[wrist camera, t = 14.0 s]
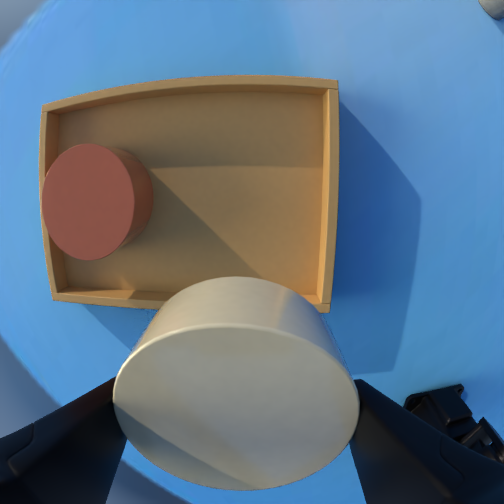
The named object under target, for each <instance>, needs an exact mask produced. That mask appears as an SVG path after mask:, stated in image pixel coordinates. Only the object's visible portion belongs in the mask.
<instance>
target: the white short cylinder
mask: <svg viewBox="0 0 504 504" xmlns="http://www.w3.org/2000/svg"><path fill="white" fill-rule="evenodd" d="M113 405H114V411H115V415H116V417H117V420H118V423H119V425H120V427H121V429H122V431H123V433H124V434H125V436H126V437H127V439H128V440H129V441H130V443H131V444H132V445H133V446H134V447H135V448H136V449H137V450H138V451H139V452H140V453H141V454H142V455H143V456H144V457H145V458H146V459H148V460H149V461H150V462H152V463H153V464H154V465H156V466H158V467H159V468H161V469H162V470H164V471H166V472H168V473H170V474H172V475H174V476H176V477H178V478H181V479H183V480H186V481H188V482H191V483H195V484H198V485H202V486H206V487H210V488H216V489H223V490H235V491H252V490H263V489H269V488H275V487H280V486H283V485H287V484H291V483H293V482H296V481H299V480H302V479H304V478H306V477H308V476H310V475H312V474H314V473H316V472H317V471H319V470H321V469H322V468H324V467H325V466H327V465H328V464H329V463H331V462H332V461H333V460H334V459H335V458H336V457H337V456H338V455H339V454H341V452H342V451H343V450H344V449H345V448H346V446H347V445H348V444H349V442H350V440H351V439H352V437H353V435H354V433H355V430H356V427H357V423H358V420H359V415H360V399H359V394H358V390H357V388H356V385H355V383H354V380H353V378H352V376H351V374H350V371H349V369H348V367H347V365H346V362H345V360H344V358H343V356H342V354H341V351H340V349H339V347H338V345H337V343H336V340H335V338H334V336H333V334H332V332H331V330H330V327H329V325H328V324H327V322H326V321H325V319H324V317H323V316H322V315H321V313H320V312H319V311H318V310H317V309H316V308H315V307H314V306H313V305H312V304H311V303H310V302H309V301H307V300H306V299H305V298H304V297H302V296H301V295H299V294H298V293H296V292H294V291H293V290H291V289H289V288H286V287H284V286H282V285H280V284H277V283H274V282H270V281H267V280H263V279H257V278H252V277H237V276H236V277H221V278H216V279H210V280H206V281H203V282H200V283H197V284H194V285H192V286H190V287H188V288H185V289H183V290H181V291H180V292H178V293H177V294H176V295H174V296H173V297H171V298H170V299H169V300H168V301H167V302H166V303H165V304H163V305H162V307H161V308H160V309H159V310H158V312H157V313H156V314H155V316H154V317H153V319H152V320H151V322H150V323H149V325H148V326H147V328H146V329H145V331H144V332H143V334H142V335H141V337H140V338H139V340H138V341H137V343H136V344H135V346H134V347H133V349H132V350H131V352H130V353H129V355H128V357H127V358H126V360H125V361H124V363H123V364H122V366H121V368H120V370H119V372H118V374H117V376H116V380H115V383H114V388H113Z"/></svg>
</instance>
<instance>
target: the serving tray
mask: <svg viewBox="0 0 504 504" xmlns="http://www.w3.org/2000/svg"><path fill="white" fill-rule="evenodd" d="M41 113H42V114H41V123H40V140H39V193H40V211H41V224H42V234H43V243H44V251H45V258H46V265H47V272H48V278H49V283H50V289H51V292H52V293H51V294H52V299H53V300H54V301H63V302H72V303H82V304H92V305H103V306H114V307H127V308H140V309H156V310H159V309H160V308H161V307H162V305H163V304H165V303H166V302H167V301H168V300H169V299H170V298H171V297H173V296H174V295H176V294H177V293H178V292H180V291H181V290H183V289H185V288H188V287H190V286H192V285H194V284H197V283H200V282H203V281H206V280H210V279H216V278H221V277H236V276H237V277H252V278H257V279H263V280H267V281H270V282H274V283H277V284H280V285H282V286H284V287H286V288H289V289H291V290H293V291H294V292H296V293H298V294H299V295H301V296H302V297H304V298H305V299H306V300H307V301H309V302H310V303H311V304H312V305H313V306H314V307H315V308H316V309H317V310H318V311H319V312H320V313H329V312H330V305H331V304H330V303H331V296H332V286H333V275H334V263H335V250H336V235H337V218H338V195H339V91H338V80H331V79H321V78H310V77H296V76H275V75H224V76H203V77H189V78H178V79H168V80H159V81H151V82H144V83H137V84H131V85H125V86H119V87H114V88H109V89H104V90H99V91H94V92H90V93H85V94H81V95H77V96H73V97H69V98H65V99H61V100H58V101H54V102H51V103H47V104H44V105H42V111H41ZM81 144H98V145H104V146H110V147H116V148H121V149H124V150H126V151H128V152H130V153H132V154H133V155H135V156H136V157H137V158H138V159H139V160H140V161H141V162H142V164H143V165H144V166H145V168H146V170H147V172H148V174H149V176H150V179H151V182H152V187H153V195H154V198H153V208H152V213H151V216H150V219H149V221H148V224H147V225H146V227H145V229H144V230H143V232H142V233H141V234H140V235H139V236H138V237H137V238H136V239H135V240H134V241H132V242H131V243H129V244H127V245H126V246H124V247H122V248H120V249H119V250H117V251H115V252H113V253H112V254H110V255H108V256H107V257H104V258H102V259H98V260H92V261H87V260H80V259H77V258H74V257H72V256H70V255H68V254H67V253H65V252H64V251H63V250H61V249H60V248H59V247H58V246H57V245H56V243H55V242H54V241H53V239H52V238H51V236H50V235H49V233H48V231H47V228H46V226H45V223H44V219H43V215H42V207H41V197H42V189H43V184H44V181H45V178H46V175H47V173H48V171H49V169H50V167H51V166H52V164H53V163H54V162H55V160H56V159H57V158H58V157H59V156H60V155H61V154H62V153H64V152H65V151H66V150H68V149H70V148H72V147H74V146H77V145H81Z"/></svg>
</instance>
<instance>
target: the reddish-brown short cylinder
mask: <svg viewBox="0 0 504 504" xmlns="http://www.w3.org/2000/svg"><path fill="white" fill-rule="evenodd" d="M153 198H154V195H153V187H152V182H151V179H150V176H149V174H148V172H147V170H146V168H145V166H144V165H143V164H142V162H141V161H140V160H139V159H138V158H137V157H136V156H135V155H133V154H132V153H130V152H128V151H126V150H124V149H121V148H116V147H110V146H104V145H98V144H81V145H77V146H74V147H72V148H70V149H68V150H66V151H65V152H64V153H62V154H61V155H60V156H59V157H58V158H57V159H56V160H55V162H54V163H53V164H52V166H51V167H50V169H49V171H48V173H47V175H46V178H45V181H44V184H43V189H42V197H41V207H42V215H43V219H44V223H45V226H46V228H47V231H48V233H49V235H50V236H51V238H52V239H53V241H54V242H55V243H56V245H57V246H58V247H59V248H60V249H61V250H63V251H64V252H65V253H67V254H68V255H70V256H72V257H74V258H77V259H80V260H87V261H92V260H98V259H102V258H104V257H107V256H108V255H110V254H112V253H113V252H115V251H117V250H119V249H120V248H122V247H124V246H126V245H127V244H129V243H131V242H132V241H134V240H135V239H136V238H137V237H138V236H139V235H140V234H141V233H142V232H143V230H144V229H145V227H146V225H147V224H148V221H149V219H150V216H151V213H152V208H153Z"/></svg>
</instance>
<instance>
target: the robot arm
mask: <svg viewBox="0 0 504 504" xmlns="http://www.w3.org/2000/svg"><path fill="white" fill-rule="evenodd" d="M115 380H116V377H114V378H112V379H110V380H109V381H107V382H105V383H103V384H102V385H100V386H98V387H96V388H95V389H93V390H91V391H89V392H88V393H86V394H84V395H82V396H81V397H79V398H77V399H75V400H74V401H72V402H70V403H68V404H66V405H65V406H63V407H61V408H59V409H57V410H55V411H54V412H52V413H50V414H48V415H46V416H44V417H43V418H41V419H39V420H37V421H35V422H34V423H31V424H29V425H28V426H26V427H24V428H22V429H20V430H18V431H16V432H14V433H12V434H9V435H7V436H5V437H2V438H0V504H105V503H106V500H107V497H108V494H109V491H110V488H111V485H112V482H113V479H114V476H115V474H116V471H117V467H118V464H119V462H120V459H121V456H122V454H123V451H124V448H125V445H126V441H127V437H126V436H125V434H124V433H123V431H122V429H121V427H120V425H119V423H118V420H117V417H116V415H115V411H114V405H113V388H114V383H115ZM354 383H355V385H356V388H357V390H358V394H359V399H360V415H359V420H358V423H357V427H356V430H355V433H354V435H353V437H352V439H351V440H350V442H349V444H350V449H351V453H352V456H353V459H354V463H355V466H356V469H357V473H358V476H359V479H360V483H361V486H362V489H363V493H364V496H365V500H366V503H367V504H504V441H503V439H502V438H501V437H500V435H499V434H498V433H497V431H496V430H495V429H494V428H493V427H492V426H491V425H490V424H489V422H488V421H487V420H486V419H485V418H484V417H483V418H482V419H481V420H480V421H479V423H478V424H477V423H476V422H475V420H474V419H473V418H472V412H471V410H470V409H469V408H468V406H467V405H466V404H465V403H464V401H463V400H462V399H461V394H462V392H463V390H464V387H463V385H462V384H458V385H454V386H450V387H446V388H441V389H437V390H432V391H427V392H423V393H417V394H412V395H410V396H408V397H407V399H406V401H405V404H404V406H403V407H402V406H400V405H399V404H397V403H396V402H394V401H393V400H391V399H390V398H388V397H387V396H385V395H384V394H382V393H381V392H379V391H378V390H377V389H375V388H374V387H372V386H371V385H369V384H368V383H366V382H365V381H363V380H361V379H357V380H354ZM491 442H492V443H491ZM490 443H491V444H490ZM489 444H490V445H489Z"/></svg>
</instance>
